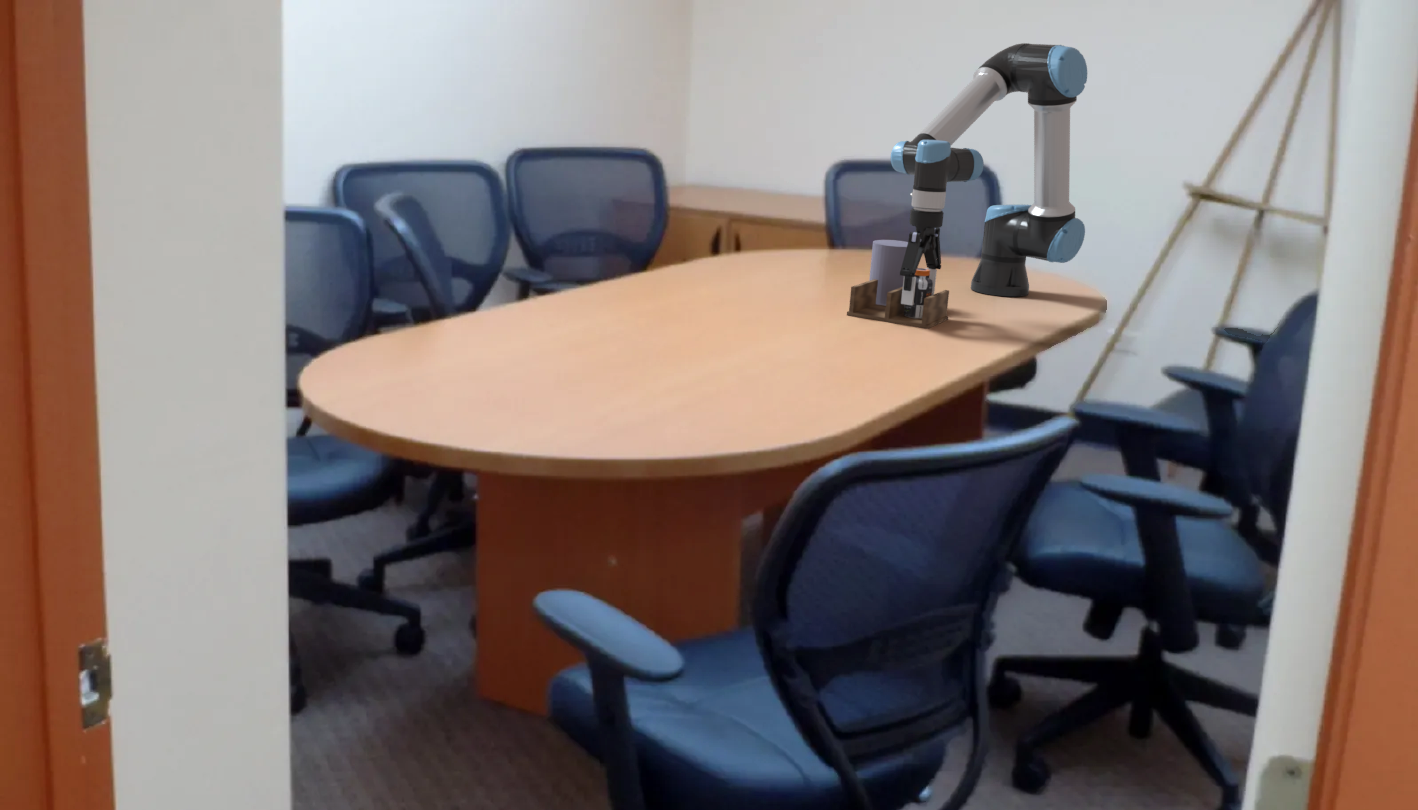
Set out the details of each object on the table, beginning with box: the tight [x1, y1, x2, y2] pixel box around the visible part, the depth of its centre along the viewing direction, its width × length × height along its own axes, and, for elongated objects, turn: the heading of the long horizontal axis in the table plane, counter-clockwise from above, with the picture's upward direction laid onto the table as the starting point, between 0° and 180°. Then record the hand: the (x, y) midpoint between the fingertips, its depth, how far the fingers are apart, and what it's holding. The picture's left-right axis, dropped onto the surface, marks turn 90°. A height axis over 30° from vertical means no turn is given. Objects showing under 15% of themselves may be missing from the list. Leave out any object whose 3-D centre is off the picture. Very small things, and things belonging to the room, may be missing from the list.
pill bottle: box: [904, 267, 933, 319], centre depth 314 cm, size 6×6×11 cm
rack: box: [846, 279, 950, 329], centre depth 317 cm, size 14×20×7 cm
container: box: [868, 239, 908, 306], centre depth 332 cm, size 10×10×15 cm
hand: (917, 300), depth 315 cm, fingers open, 13 cm apart
